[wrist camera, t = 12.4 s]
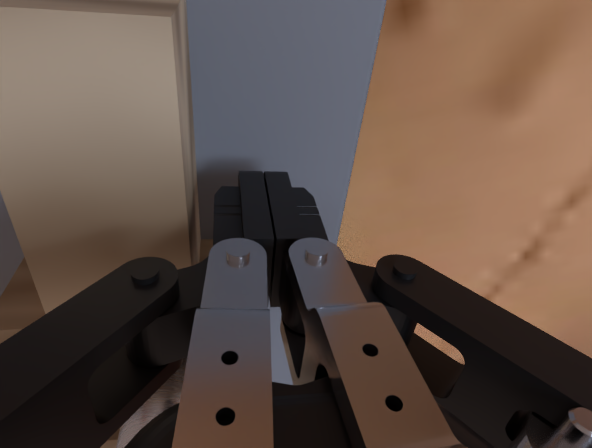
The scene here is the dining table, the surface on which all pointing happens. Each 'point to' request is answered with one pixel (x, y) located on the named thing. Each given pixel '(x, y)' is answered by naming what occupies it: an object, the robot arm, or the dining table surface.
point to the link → (94, 146)
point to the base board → (270, 107)
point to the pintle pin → (153, 406)
